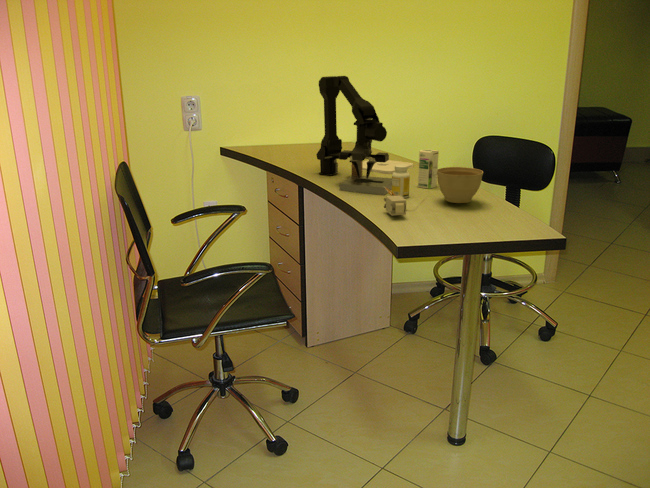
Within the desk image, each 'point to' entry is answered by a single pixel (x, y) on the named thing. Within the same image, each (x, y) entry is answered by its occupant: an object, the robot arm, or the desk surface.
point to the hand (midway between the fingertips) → (363, 178)
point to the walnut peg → (355, 169)
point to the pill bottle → (400, 181)
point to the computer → (385, 166)
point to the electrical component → (395, 204)
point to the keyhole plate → (366, 185)
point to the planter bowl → (459, 183)
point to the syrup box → (428, 168)
